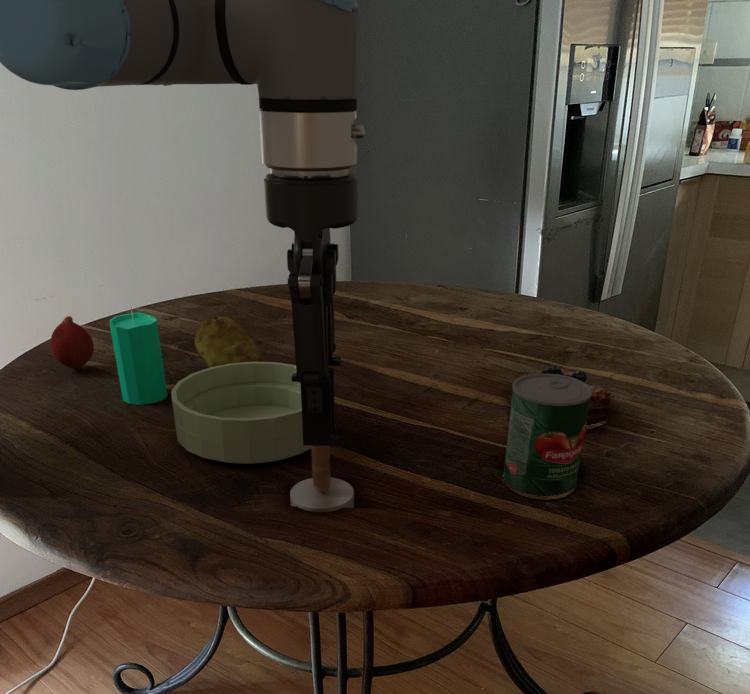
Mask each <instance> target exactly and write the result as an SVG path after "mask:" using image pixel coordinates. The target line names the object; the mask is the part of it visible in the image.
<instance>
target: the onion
mask: <svg viewBox="0 0 750 694" xmlns="http://www.w3.org/2000/svg"><path fill="white" fill-rule="evenodd" d="M49 347H50V352H51V355H52V356H53V358H54V359H55V361H57V362H58V363H59V364H61V365H63V366H64V367H67V368H69V369H71V370H74V371H80V370H82V369H83V368H84V366H85V365H86V364H87V363H88V362H89V361H90V360H91V358H92V357H93V355H94V352H95V344H94V341H93V338H92V336H91V334H90V333H89V332H88V330H86V329H85V328H84V327H83V326H81V325H80V324H78V323H75V322H74V319H73V317H72V316H71V315H67V316H65V317H64V318H63V320H62V321H61V323H59V324H58V325H57V326H56V327H55V328H54V330H53V332H52V333H51V336H50V341H49Z"/></svg>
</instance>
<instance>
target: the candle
mask: <svg viewBox="0 0 750 694" xmlns="http://www.w3.org/2000/svg"><path fill="white" fill-rule="evenodd" d="M158 326H159V325H158V319H157V318H156V317H154V316H153V315H151V314H148V313H144V312H140V311H137V312H133V308H132V307H130V312H129V313H125V314H120V315H115V316H113V317H112V318H111V319H109V328H110V335H111V341H112V346H113V351H114V359H115V362H116V363H115V364H116V369H117V375H118V380H119V385H120V386H119V387H120V392H121V396H122V401H123V402H125V403H127V404H129V405H138V406H140V405H152V404H156V403H159V402H161V401H164V399H166V398H167V397H168V388H167V382H166V375H165V368H164V361H163V354H162V348H161V340H160V339H161V338H160V334H159V333H160V332H159V327H158Z"/></svg>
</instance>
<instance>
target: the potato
mask: <svg viewBox="0 0 750 694" xmlns="http://www.w3.org/2000/svg"><path fill="white" fill-rule="evenodd" d="M194 346H195V349H196V352H197V355H198V357H199V358H200V359H201V361H202V362H203V363H205V365H206V366H207V367H208V368H211V367H216V366H221V365H226V364H231V363H243V362H265V359H264V357H263V354H262V352H261V350H260V349H259V347H258V345H257V344H256V342H255V340H254V338H253V336H252V335H251V334H250V333H249V332H248V330H246V329H244V328H243V327H242V326H240V325H239V324H238V322H237V321H236V320H234V318H232V317H229V316H225V315H223V314H220V315H212V316H209V317H207V318H206V319H204V320H202V321H200V322H199V324H198V325H197V327H196V330H195V333H194Z"/></svg>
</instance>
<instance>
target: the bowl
mask: <svg viewBox="0 0 750 694" xmlns="http://www.w3.org/2000/svg"><path fill="white" fill-rule="evenodd" d="M293 373H297V370H296V364H290V363H283V362H277V361H264V362H243V363H231V364H226V365H221V366H216V367H211V368H209V367H208V368H204V369H202V370H199V371H196V372H193V373H191V374H189V375H187V376H186V377H183V378H182V379H181V380H178V381H177V382H176V384H175V385H174V387H173V388H172V389H171V391H170V394H171V405H172V410H173V411H172V412H173V417H174V425H175V426H174V427H175V431H176V439H177V442H178V443H179V445H181V446H182V448H184V449H185V450H186V451H187V452H189V453H191V454H193V455H196V456H198V457H200V458H202V459H205V460H211V461H216V462H222V463H226V464H235V465H236V464H237V465H254V464H265V463H266V464H267V463H273V462H277V461H278V462H279V461H282V460H286V459H289V458H292V457H295V456H298V455H301V454H303V453H305V452H307V451H309V450H311V446H309V445H303V428H302V406H301V384H300V383H298V382H292V375H293Z"/></svg>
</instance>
